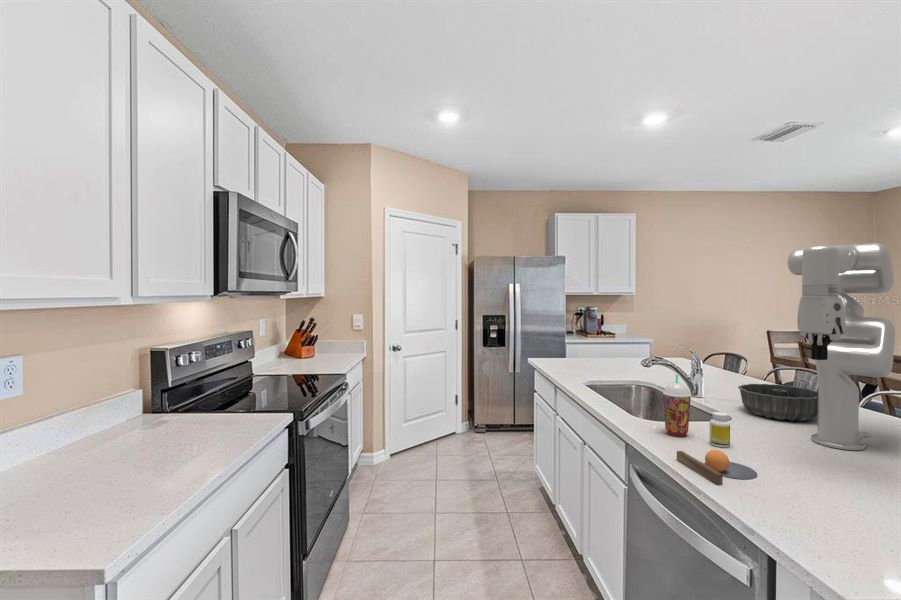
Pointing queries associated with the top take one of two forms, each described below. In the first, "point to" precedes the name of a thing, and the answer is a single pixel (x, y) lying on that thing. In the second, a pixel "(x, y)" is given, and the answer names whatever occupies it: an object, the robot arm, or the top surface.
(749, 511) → the top surface
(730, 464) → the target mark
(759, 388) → the bundt pan
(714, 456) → the ball
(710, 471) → the rail
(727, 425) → the supplement bottle
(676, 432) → the smoothie
